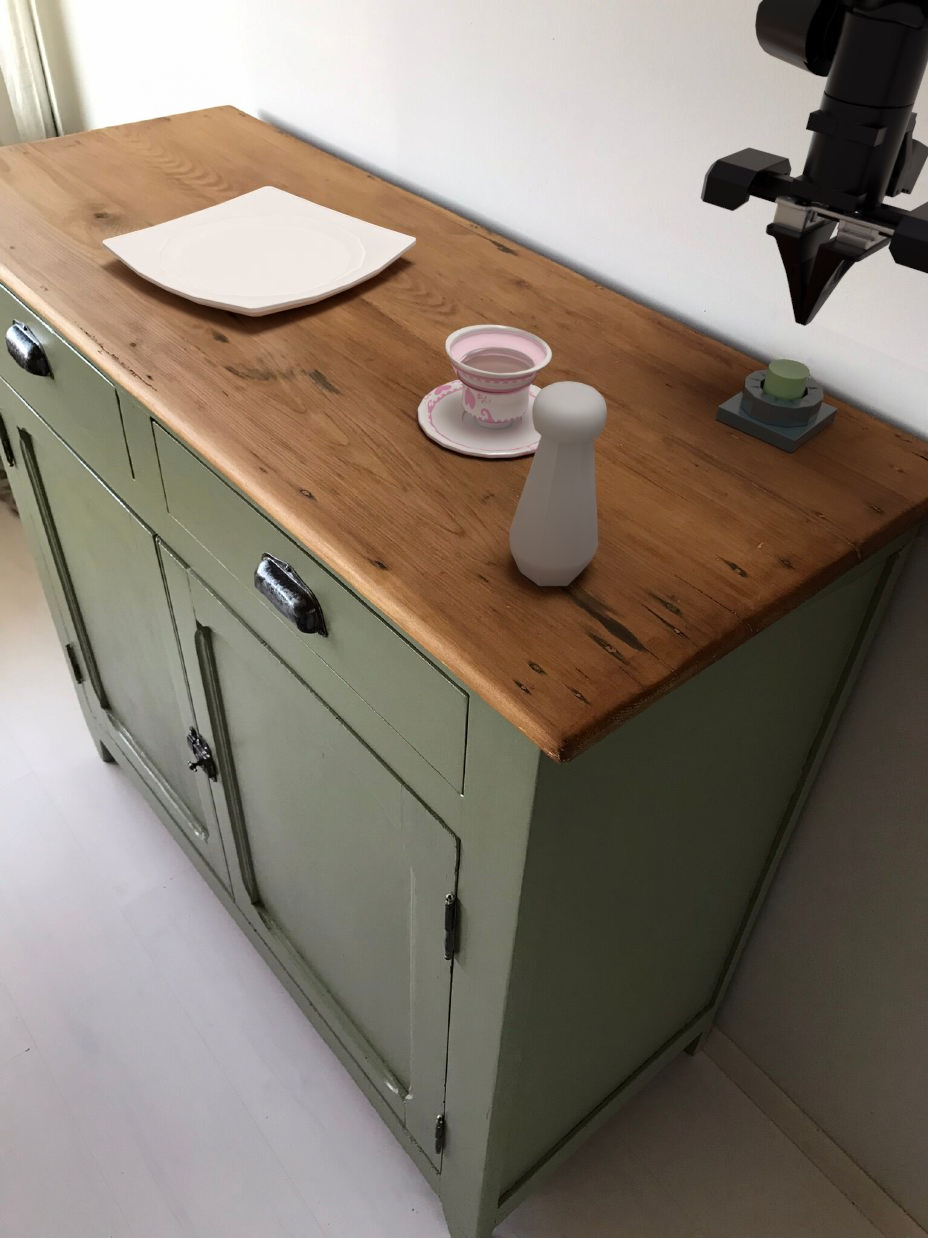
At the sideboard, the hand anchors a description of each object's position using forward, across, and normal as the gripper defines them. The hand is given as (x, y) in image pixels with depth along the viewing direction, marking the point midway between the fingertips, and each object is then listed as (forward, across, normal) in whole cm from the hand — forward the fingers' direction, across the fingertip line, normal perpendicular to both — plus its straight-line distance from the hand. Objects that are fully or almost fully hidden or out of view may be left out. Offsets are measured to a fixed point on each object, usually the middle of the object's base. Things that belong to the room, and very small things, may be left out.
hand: (803, 322), depth 73 cm
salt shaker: (+9, +1, +28) cm, 29 cm away
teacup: (+9, +16, +17) cm, 25 cm away
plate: (+9, +52, +12) cm, 54 cm away
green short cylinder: (+6, 0, 0) cm, 6 cm away
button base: (+8, 0, 0) cm, 9 cm away
